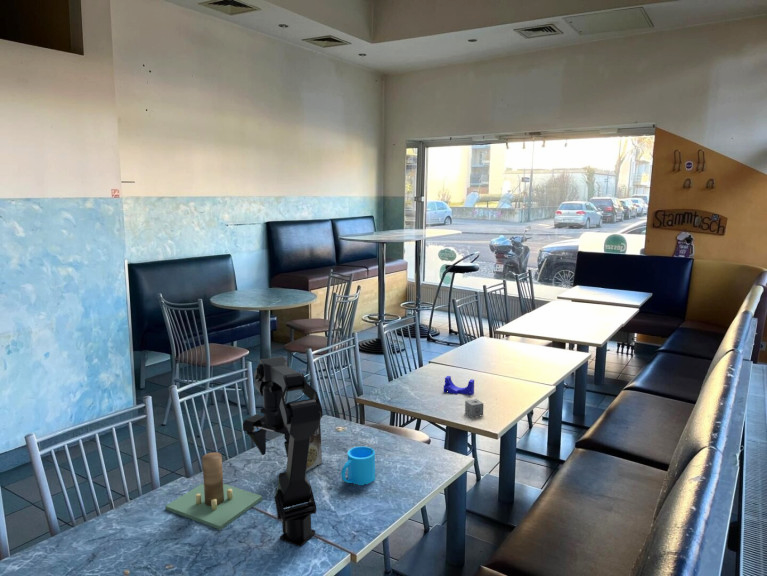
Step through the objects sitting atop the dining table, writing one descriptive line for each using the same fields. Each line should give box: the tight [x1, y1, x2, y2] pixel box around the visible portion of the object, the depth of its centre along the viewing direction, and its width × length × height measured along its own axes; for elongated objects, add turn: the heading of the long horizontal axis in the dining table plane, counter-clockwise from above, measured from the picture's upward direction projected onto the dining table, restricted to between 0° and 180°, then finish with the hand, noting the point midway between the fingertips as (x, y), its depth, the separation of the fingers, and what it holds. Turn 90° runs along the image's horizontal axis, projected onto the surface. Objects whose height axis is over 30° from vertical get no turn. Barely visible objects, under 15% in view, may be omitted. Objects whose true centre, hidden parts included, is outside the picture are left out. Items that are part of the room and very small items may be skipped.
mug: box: [340, 445, 376, 486], centre depth 162 cm, size 12×8×8 cm
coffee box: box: [286, 423, 323, 473], centre depth 170 cm, size 9×6×16 cm
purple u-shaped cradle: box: [443, 375, 475, 396], centre depth 234 cm, size 12×4×6 cm, turn 63°
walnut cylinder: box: [201, 452, 224, 506], centre depth 150 cm, size 5×5×13 cm
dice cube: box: [464, 398, 484, 418], centre depth 210 cm, size 5×5×5 cm
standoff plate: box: [164, 482, 263, 531], centre depth 151 cm, size 20×16×4 cm
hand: (276, 458), depth 150 cm, fingers open, 9 cm apart
